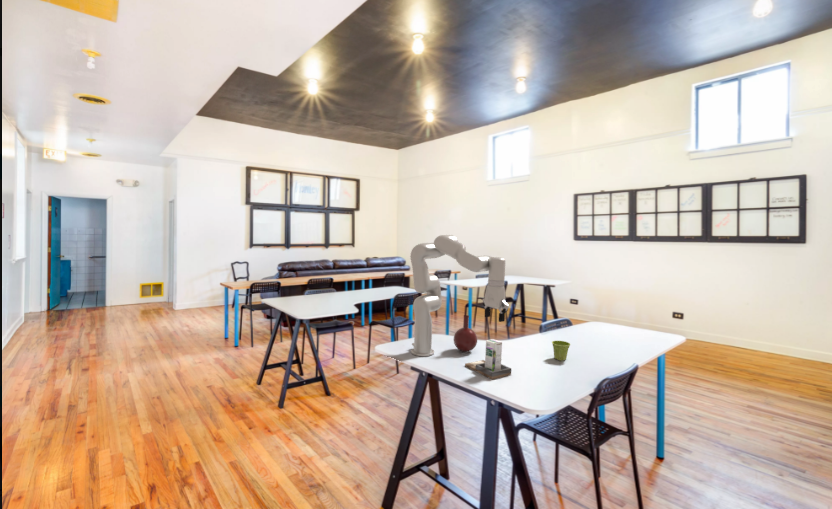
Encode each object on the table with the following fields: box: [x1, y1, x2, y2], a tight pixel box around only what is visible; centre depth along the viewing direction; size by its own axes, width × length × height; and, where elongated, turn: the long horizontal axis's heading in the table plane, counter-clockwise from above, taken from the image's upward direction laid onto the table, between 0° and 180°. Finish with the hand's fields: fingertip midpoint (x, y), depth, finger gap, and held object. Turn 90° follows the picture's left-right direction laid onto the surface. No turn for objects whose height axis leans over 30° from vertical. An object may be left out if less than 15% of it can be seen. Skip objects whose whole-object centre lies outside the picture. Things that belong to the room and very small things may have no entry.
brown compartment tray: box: [464, 359, 512, 380], centre depth 208 cm, size 20×12×3 cm, turn 32°
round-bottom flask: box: [453, 314, 478, 353], centre depth 236 cm, size 13×13×20 cm
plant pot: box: [551, 340, 571, 361], centre depth 228 cm, size 9×9×9 cm
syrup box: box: [484, 338, 503, 372], centre depth 204 cm, size 6×6×14 cm
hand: (494, 319), depth 202 cm, fingers open, 9 cm apart
